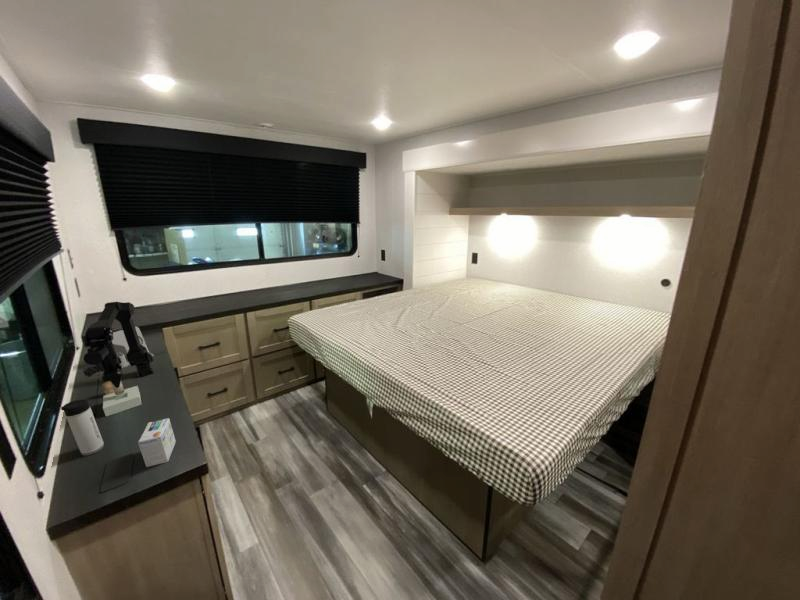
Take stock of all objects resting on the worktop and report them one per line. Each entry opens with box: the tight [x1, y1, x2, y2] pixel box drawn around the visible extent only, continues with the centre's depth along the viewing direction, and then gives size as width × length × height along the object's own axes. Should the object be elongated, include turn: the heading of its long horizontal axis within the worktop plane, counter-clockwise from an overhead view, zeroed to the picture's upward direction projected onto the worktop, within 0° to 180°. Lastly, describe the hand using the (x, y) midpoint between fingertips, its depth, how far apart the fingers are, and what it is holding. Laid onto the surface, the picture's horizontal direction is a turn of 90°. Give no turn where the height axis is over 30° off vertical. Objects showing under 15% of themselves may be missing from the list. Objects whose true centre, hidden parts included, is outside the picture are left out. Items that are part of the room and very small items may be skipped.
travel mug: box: [60, 399, 105, 456], centre depth 115 cm, size 6×7×20 cm
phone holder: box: [112, 326, 155, 369], centre depth 181 cm, size 17×10×18 cm, turn 147°
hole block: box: [102, 385, 142, 417], centre depth 143 cm, size 12×12×4 cm
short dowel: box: [102, 381, 115, 395], centre depth 151 cm, size 3×3×6 cm
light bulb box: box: [137, 417, 177, 468], centre depth 113 cm, size 11×7×11 cm, turn 21°
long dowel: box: [110, 381, 125, 395], centre depth 141 cm, size 3×3×10 cm
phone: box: [99, 453, 135, 494], centre depth 108 cm, size 7×1×15 cm
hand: (117, 385), depth 141 cm, fingers closed on long dowel, 3 cm apart
